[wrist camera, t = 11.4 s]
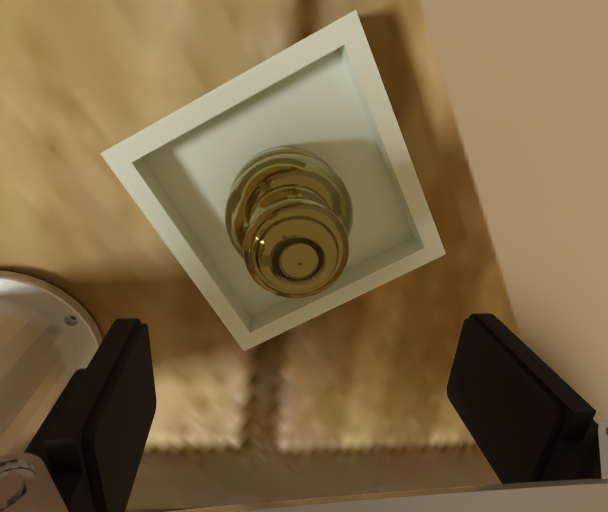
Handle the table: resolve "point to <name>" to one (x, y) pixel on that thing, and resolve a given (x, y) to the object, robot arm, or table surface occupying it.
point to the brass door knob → (290, 221)
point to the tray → (273, 133)
